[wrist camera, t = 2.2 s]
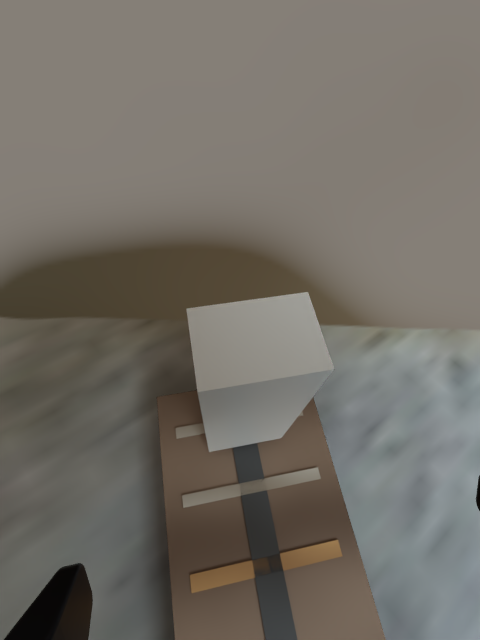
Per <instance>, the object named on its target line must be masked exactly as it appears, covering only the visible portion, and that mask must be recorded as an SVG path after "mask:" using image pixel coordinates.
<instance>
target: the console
mask: <svg viewBox="0 0 480 640" xmlns="http://www.w3.org/2000/svg"><path fill="white" fill-rule="evenodd" d="M157 406H158V420H159V433H160V447H161V460H162V473H163V487H164V500H165V514H166V527H167V540H168V554H169V567H170V581H171V594H172V608H173V621H174V634H175V640H386V639H385V636H384V633H383V629H382V626H381V623H380V619H379V616H378V613H377V609H376V606H375V602H374V599H373V596H372V592H371V589H370V586H369V582H368V579H367V576H366V572H365V569H364V566H363V562H362V559H361V556H360V552H359V549H358V546H357V542H356V539H355V536H354V532H353V529H352V526H351V522H350V519H349V516H348V512H347V509H346V505H345V502H344V499H343V495H342V492H341V489H340V485H339V482H338V479H337V475H336V472H335V469H334V465H333V462H332V459H331V455H330V452H329V449H328V445H327V442H326V439H325V435H324V432H323V429H322V425H321V422H320V419H319V415H318V412H317V408H316V405H315V402H314V398H312V399H311V400H310V402H309V403H308V404H307V405H306V407H305V408H304V409H303V411H302V412H301V413H300V415H299V416H298V417H297V418H296V420H295V421H294V422H293V424H292V425H291V426H290V427H289V429H288V430H287V431H286V433H285V434H284V435H283V437H282V438H280V439H275V440H270V441H264V442H259V443H254V444H249V445H244V446H238V447H233V448H228V449H223V450H218V451H212V452H209V449H208V444H207V439H206V434H205V429H204V423H203V418H202V413H201V408H200V403H199V397H198V392H197V390H195V391H189V392H183V393H177V394H171V395H165V396H159V397H157Z"/></svg>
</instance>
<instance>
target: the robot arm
mask: <svg viewBox="0 0 480 640" xmlns="http://www.w3.org/2000/svg"><path fill="white" fill-rule="evenodd" d="M476 503H477V506H478V509H479V511H480V476H479V479H478V488H477V496H476ZM92 601H93V599H92V591H91V587H90V584H89V580H88V577H87V574H86V570H85V568H84V566H83V564H81V563H78V564H73V565H69V566H65V567H62V568H60V569H59V570H58V571H57V572H56V574H55V575H54V576H53V577H52V579H51V580H50V581H49V582H48V584H47V585H46V586H45V588H44V589H43V590H42V591H41V593H40V594H39V595H38V597H37V598H36V599H35V600H34V602H33V603H32V604H31V606H30V607H29V608H28V609H27V611H26V612H25V613H24V614H23V616H22V617H21V618H20V620H19V621H18V622H17V623H16V625H15V626H14V627H13V629H12V630H11V631H10V632H9V634H8V635H7V636H6V638H5V639H4V640H88V636H89V628H90V620H91V612H92Z"/></svg>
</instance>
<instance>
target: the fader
mask: <svg viewBox="0 0 480 640" xmlns="http://www.w3.org/2000/svg"><path fill="white" fill-rule="evenodd" d="M187 317H188V325H189V332H190V340H191V347H192V355H193V362H194V370H195V377H196V385H197V392H198V397H199V403H200V408H201V413H202V418H203V423H204V429H205V434H206V439H207V444H208V449H209V452H212V451H218V450H223V449H228V448H233V447H238V446H244V445H249V444H254V443H259V442H264V441H270V440H275V439H280V438H282V437H283V435H284V434H285V433H286V431H287V430H288V429H289V427H290V426H291V425H292V424H293V422H294V421H295V420H296V418H297V417H298V416H299V415H300V413H301V412H302V411H303V409H304V408H305V407H306V405H307V404H308V403H309V402H310V400H311V399H312V398H313V396H314V395H315V394H316V392H317V391H318V390H319V389H320V387H321V386H322V385H323V383H324V382H325V381H326V380H327V378H328V377H329V376H330V374H331V373H332V372H333V370H334V366H333V364H332V361H331V358H330V355H329V352H328V349H327V346H326V343H325V340H324V337H323V334H322V331H321V329H320V326H319V323H318V320H317V317H316V314H315V311H314V308H313V306H312V302H311V299H310V297H309V294H308V292H305V293H298V294H290V295H283V296H275V297H269V298H261V299H253V300H246V301H239V302H231V303H224V304H216V305H209V306H201V307H194V308H187Z"/></svg>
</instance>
